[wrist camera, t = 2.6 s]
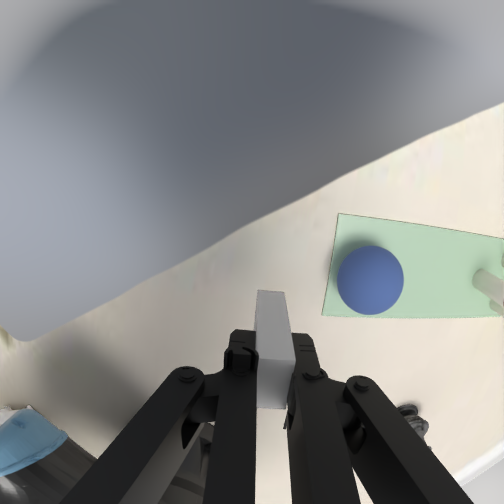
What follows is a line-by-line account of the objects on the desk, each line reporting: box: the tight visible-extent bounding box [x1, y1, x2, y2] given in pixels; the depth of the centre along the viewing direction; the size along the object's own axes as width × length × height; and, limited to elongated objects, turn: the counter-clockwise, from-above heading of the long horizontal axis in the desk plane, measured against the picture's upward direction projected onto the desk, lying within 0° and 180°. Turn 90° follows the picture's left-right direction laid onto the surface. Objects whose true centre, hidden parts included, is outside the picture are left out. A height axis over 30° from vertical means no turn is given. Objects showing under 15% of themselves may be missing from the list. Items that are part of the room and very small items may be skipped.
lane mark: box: [322, 214, 504, 318], centre depth 28 cm, size 32×10×1 cm, turn 85°
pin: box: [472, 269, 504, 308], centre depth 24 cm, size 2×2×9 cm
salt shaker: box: [397, 405, 431, 450], centre depth 28 cm, size 6×6×12 cm
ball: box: [337, 246, 404, 315], centre depth 25 cm, size 6×6×6 cm
